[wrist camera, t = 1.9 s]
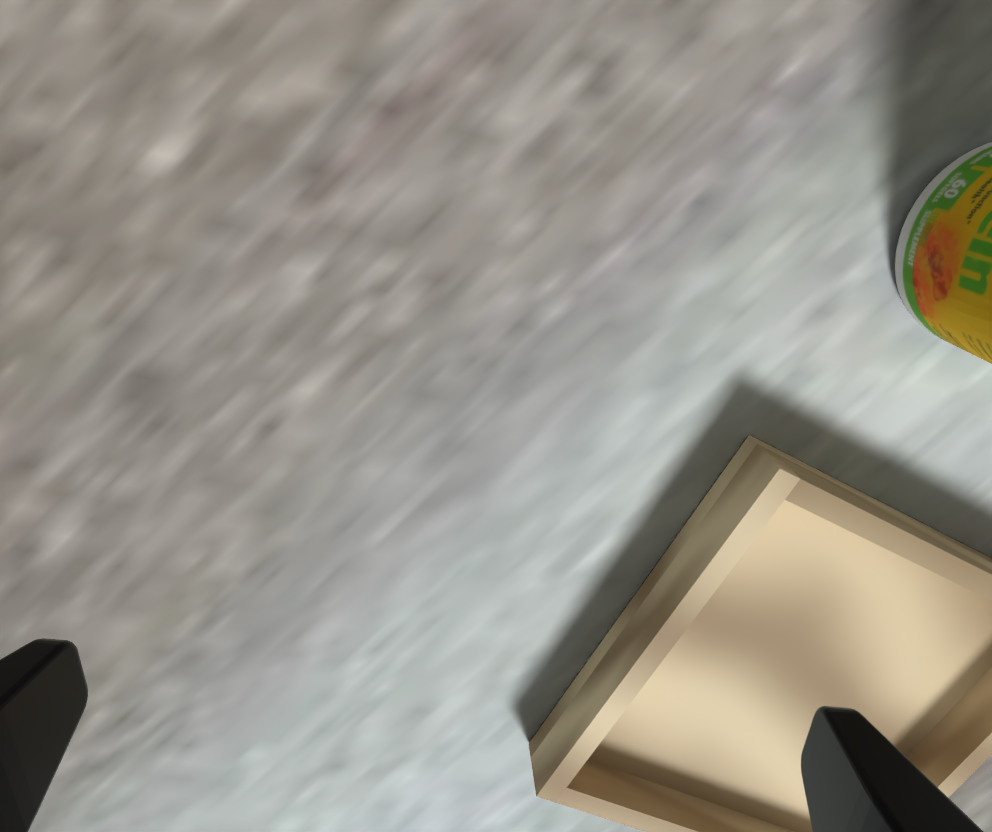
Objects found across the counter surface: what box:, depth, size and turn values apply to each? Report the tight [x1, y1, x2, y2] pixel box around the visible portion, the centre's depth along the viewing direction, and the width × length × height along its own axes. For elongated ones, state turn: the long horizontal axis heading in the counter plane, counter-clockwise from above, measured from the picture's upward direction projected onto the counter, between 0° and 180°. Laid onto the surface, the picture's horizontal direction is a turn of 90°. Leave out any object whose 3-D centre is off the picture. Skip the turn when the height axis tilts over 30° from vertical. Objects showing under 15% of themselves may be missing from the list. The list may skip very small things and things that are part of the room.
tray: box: [529, 435, 992, 832], centre depth 24 cm, size 13×13×2 cm
